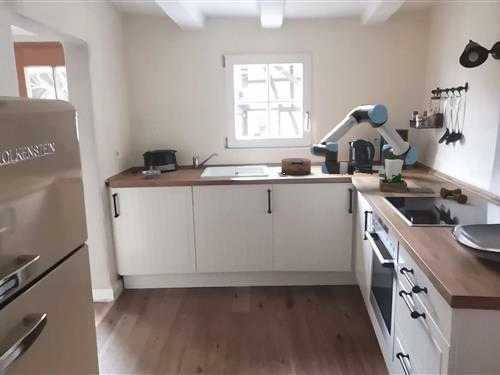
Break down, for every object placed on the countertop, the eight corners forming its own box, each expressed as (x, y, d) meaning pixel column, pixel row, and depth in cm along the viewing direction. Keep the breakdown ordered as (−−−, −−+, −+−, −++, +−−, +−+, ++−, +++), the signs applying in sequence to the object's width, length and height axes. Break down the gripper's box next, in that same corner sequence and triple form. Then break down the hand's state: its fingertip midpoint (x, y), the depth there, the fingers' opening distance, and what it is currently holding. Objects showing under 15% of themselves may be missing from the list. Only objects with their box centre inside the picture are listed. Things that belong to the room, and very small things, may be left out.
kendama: (452, 205, 194) (436, 195, 213) (472, 205, 193) (454, 196, 213) (453, 193, 193) (437, 184, 212) (473, 194, 192) (455, 185, 212)
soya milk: (394, 187, 236) (396, 155, 232) (403, 190, 227) (405, 156, 223) (381, 188, 233) (383, 155, 229) (390, 191, 225) (392, 157, 221)
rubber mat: (407, 188, 234) (407, 187, 234) (430, 189, 230) (430, 188, 230) (409, 192, 222) (409, 191, 221) (434, 193, 218) (434, 192, 218)
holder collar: (379, 186, 239) (379, 178, 238) (403, 187, 235) (404, 179, 234) (380, 191, 225) (380, 183, 224) (406, 192, 221) (407, 184, 220)
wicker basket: (312, 176, 281) (313, 161, 279) (282, 176, 282) (282, 162, 280) (308, 170, 311) (308, 157, 308) (280, 170, 311) (280, 157, 309)
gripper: (347, 171, 247) (382, 172, 241) (346, 178, 224) (384, 179, 218) (348, 160, 246) (383, 161, 240) (346, 165, 222) (385, 166, 216)
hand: (384, 169), depth 229 cm, fingers open, 13 cm apart
